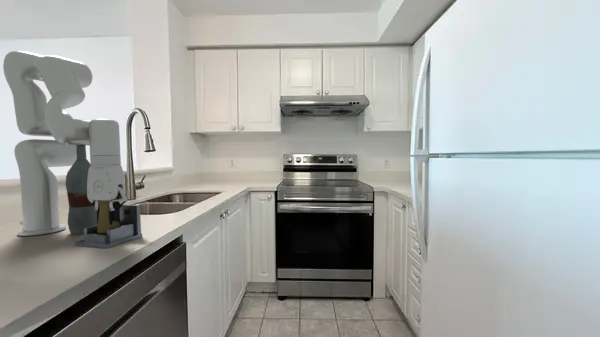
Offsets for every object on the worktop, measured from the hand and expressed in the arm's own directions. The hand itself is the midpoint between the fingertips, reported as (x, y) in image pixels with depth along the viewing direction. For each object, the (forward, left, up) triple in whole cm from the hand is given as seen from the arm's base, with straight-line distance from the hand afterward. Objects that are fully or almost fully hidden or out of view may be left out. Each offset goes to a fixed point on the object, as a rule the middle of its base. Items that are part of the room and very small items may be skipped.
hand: (108, 222), depth 89 cm
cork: (0, 0, -2) cm, 2 cm away
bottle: (-19, +7, -6) cm, 21 cm away
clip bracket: (0, 0, -5) cm, 5 cm away
